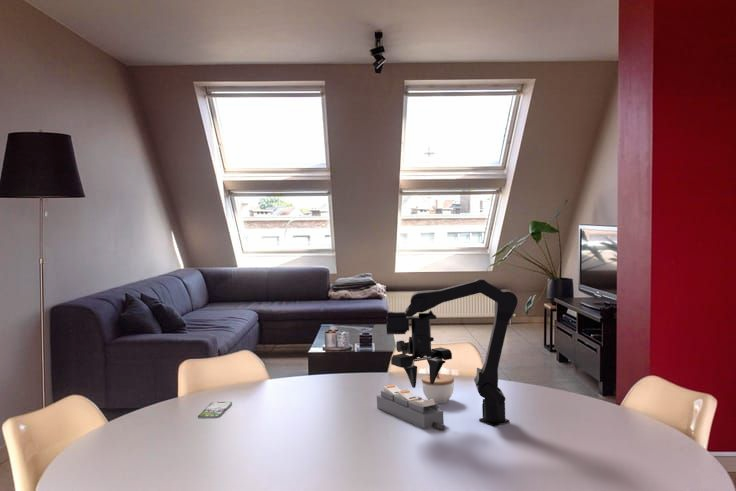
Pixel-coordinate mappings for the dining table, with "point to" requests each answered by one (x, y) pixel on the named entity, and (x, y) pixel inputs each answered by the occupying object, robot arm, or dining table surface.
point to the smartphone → (215, 410)
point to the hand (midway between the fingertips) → (422, 385)
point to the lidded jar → (438, 388)
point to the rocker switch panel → (411, 411)
